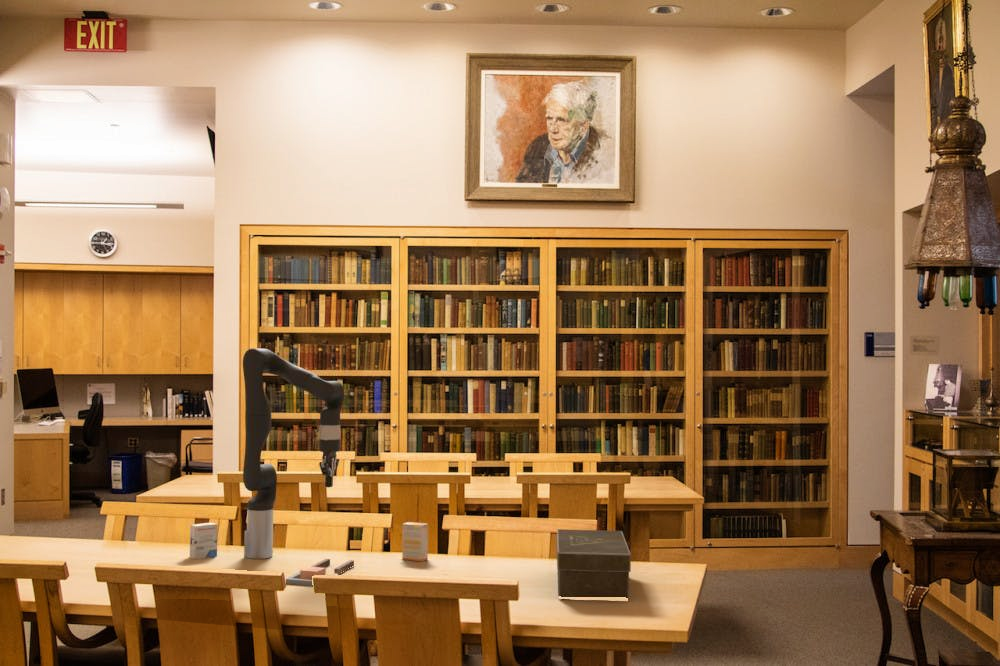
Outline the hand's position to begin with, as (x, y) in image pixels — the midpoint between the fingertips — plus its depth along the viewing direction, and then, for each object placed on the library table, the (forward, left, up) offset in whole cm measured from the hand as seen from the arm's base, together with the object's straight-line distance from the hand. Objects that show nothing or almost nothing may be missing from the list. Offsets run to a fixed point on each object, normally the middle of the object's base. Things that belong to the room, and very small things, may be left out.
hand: (328, 486), depth 358 cm
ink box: (-47, -2, -27) cm, 54 cm away
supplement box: (+27, +16, -27) cm, 42 cm away
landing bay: (+5, -24, -27) cm, 37 cm away
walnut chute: (+5, -8, -27) cm, 29 cm away
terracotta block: (+5, -25, -27) cm, 37 cm away
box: (+94, -6, -28) cm, 98 cm away
